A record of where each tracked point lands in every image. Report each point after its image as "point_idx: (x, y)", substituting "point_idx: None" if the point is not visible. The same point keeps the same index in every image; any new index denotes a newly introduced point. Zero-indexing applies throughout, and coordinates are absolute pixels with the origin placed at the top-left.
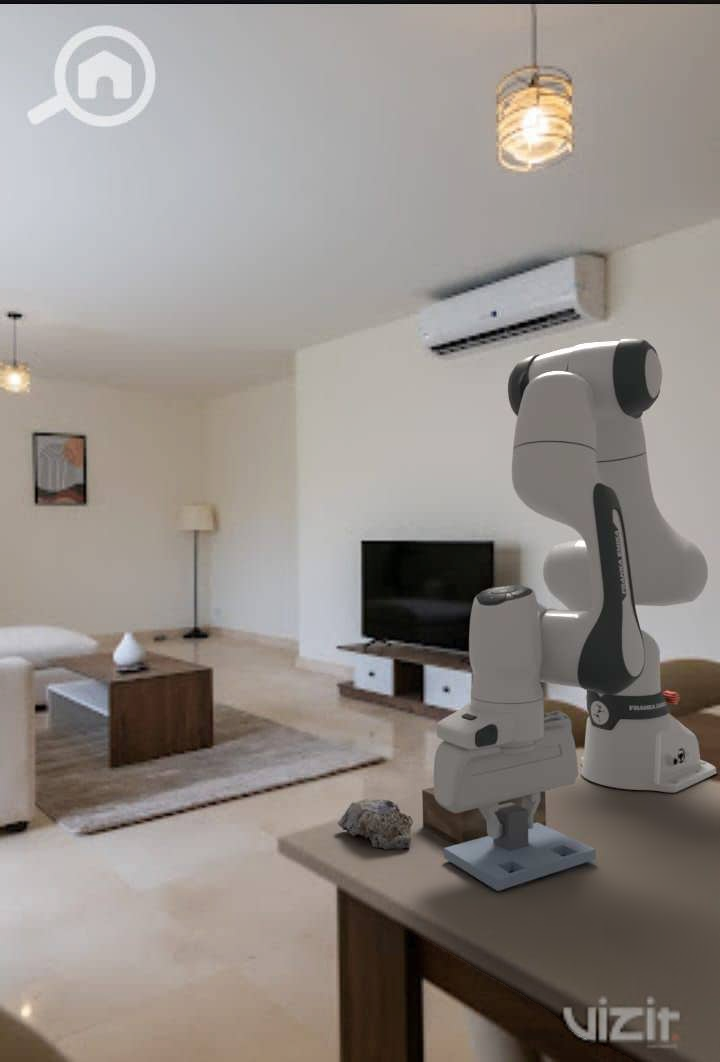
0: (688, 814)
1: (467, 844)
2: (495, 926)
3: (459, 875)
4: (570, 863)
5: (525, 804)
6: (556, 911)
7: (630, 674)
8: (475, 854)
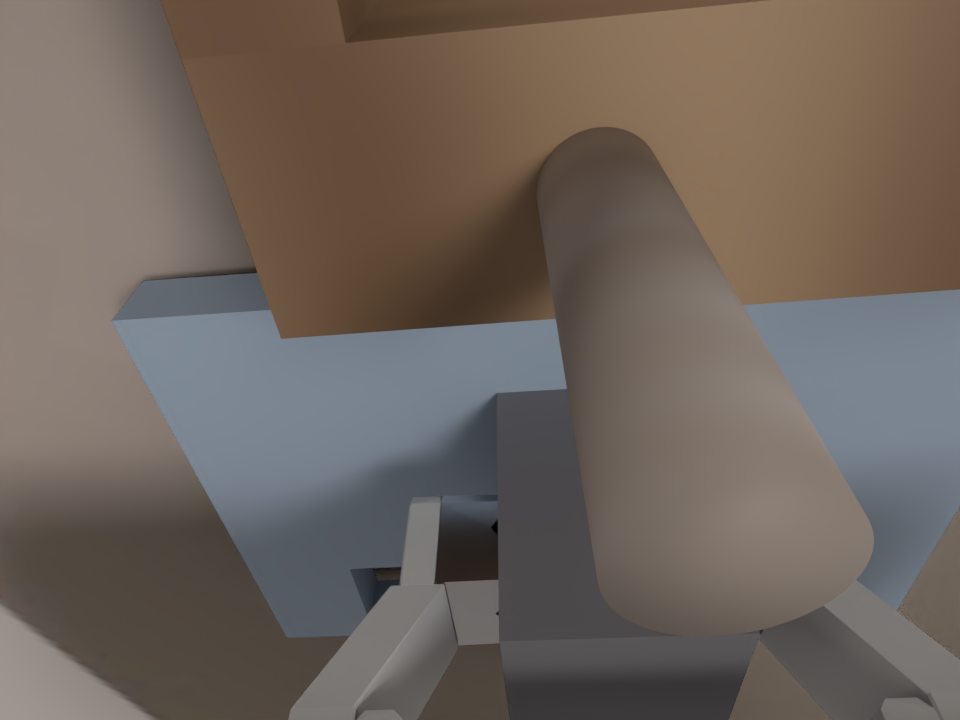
0: None
1: (308, 343)
2: (210, 672)
3: None
4: None
5: (847, 657)
6: None
7: None
8: (297, 462)
